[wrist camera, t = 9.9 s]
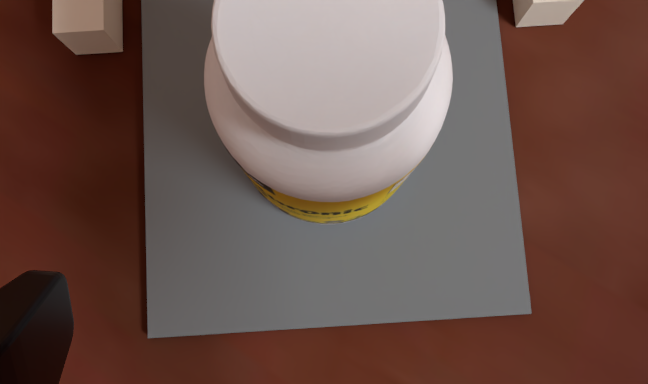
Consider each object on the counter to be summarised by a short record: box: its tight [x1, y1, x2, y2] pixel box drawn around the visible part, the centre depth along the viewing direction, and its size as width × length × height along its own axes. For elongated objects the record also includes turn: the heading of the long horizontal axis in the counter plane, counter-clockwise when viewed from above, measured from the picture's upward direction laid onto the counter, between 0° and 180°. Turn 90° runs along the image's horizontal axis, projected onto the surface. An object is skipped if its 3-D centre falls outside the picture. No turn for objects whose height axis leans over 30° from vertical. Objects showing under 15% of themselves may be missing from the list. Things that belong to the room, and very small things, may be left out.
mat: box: [141, 0, 532, 338], centre depth 20 cm, size 12×12×1 cm
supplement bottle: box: [204, 0, 453, 225], centre depth 15 cm, size 5×5×10 cm
